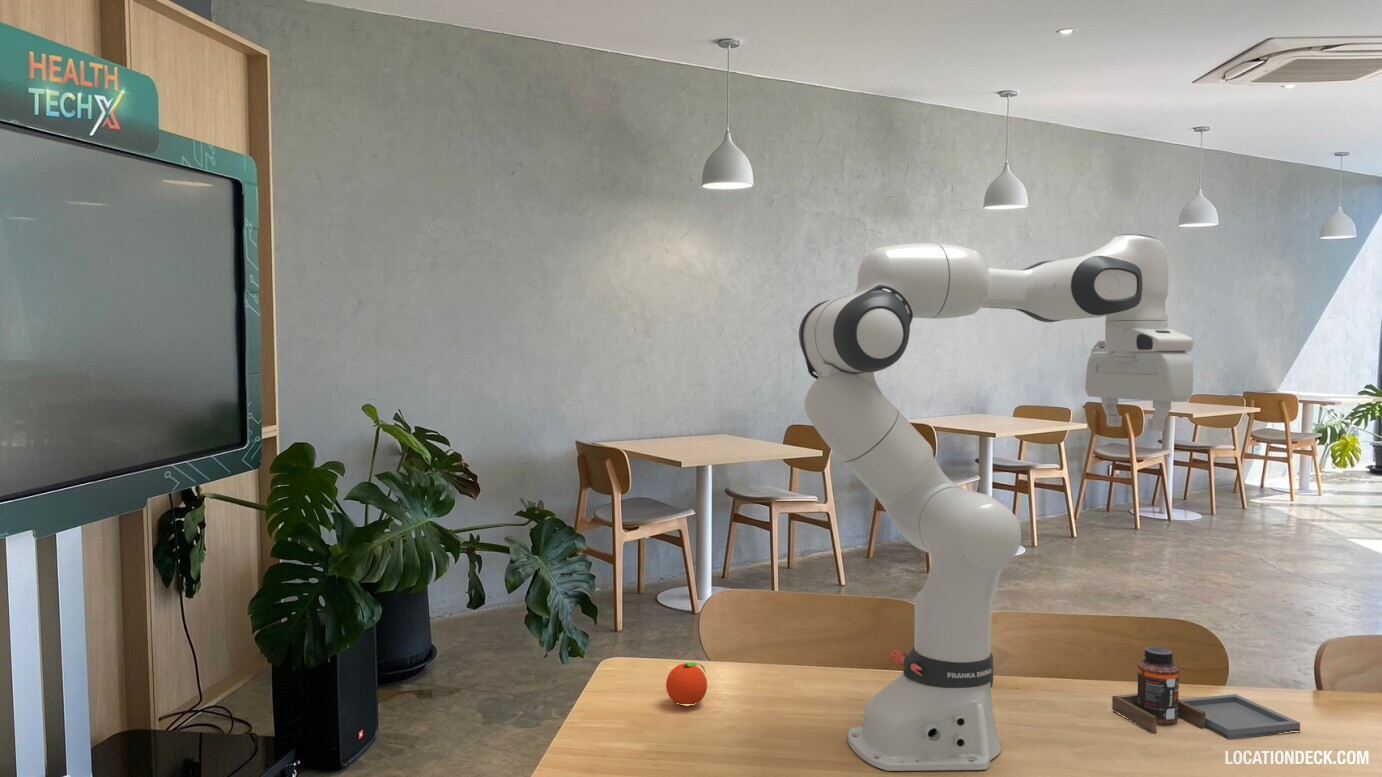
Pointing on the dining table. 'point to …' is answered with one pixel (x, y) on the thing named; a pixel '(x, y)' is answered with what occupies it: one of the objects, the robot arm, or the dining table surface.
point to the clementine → (686, 684)
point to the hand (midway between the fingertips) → (1134, 428)
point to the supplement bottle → (1159, 685)
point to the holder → (1148, 721)
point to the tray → (1241, 717)
